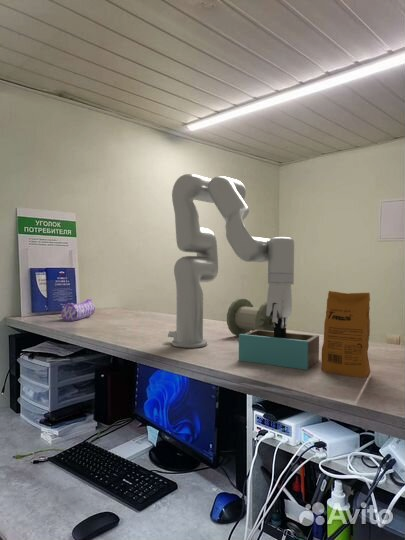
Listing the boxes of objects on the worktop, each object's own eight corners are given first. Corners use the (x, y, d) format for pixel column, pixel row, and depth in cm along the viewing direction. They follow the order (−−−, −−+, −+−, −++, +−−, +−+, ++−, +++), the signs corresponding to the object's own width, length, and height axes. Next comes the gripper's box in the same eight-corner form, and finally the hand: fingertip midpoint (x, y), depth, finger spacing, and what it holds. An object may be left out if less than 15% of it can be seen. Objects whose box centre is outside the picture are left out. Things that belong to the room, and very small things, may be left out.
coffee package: (327, 366, 115) (328, 289, 115) (373, 373, 108) (375, 291, 108) (316, 374, 107) (317, 291, 106) (365, 382, 100) (367, 293, 99)
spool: (226, 337, 160) (226, 299, 159) (252, 333, 169) (252, 297, 169) (258, 343, 147) (258, 303, 147) (283, 339, 157) (284, 300, 157)
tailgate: (238, 360, 117) (238, 334, 117) (240, 359, 119) (240, 333, 118) (307, 369, 108) (307, 341, 108) (308, 368, 109) (308, 340, 109)
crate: (240, 362, 119) (240, 335, 119) (255, 354, 129) (255, 329, 129) (308, 371, 109) (308, 342, 109) (318, 362, 120) (319, 335, 119)
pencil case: (76, 322, 196) (76, 303, 196) (59, 321, 198) (59, 302, 198) (96, 316, 218) (96, 299, 218) (80, 316, 220) (80, 298, 220)
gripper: (276, 278, 127) (275, 336, 127) (259, 279, 114) (258, 344, 114) (300, 278, 123) (299, 338, 124) (285, 280, 110) (284, 347, 111)
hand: (279, 341), depth 119 cm, fingers closed
